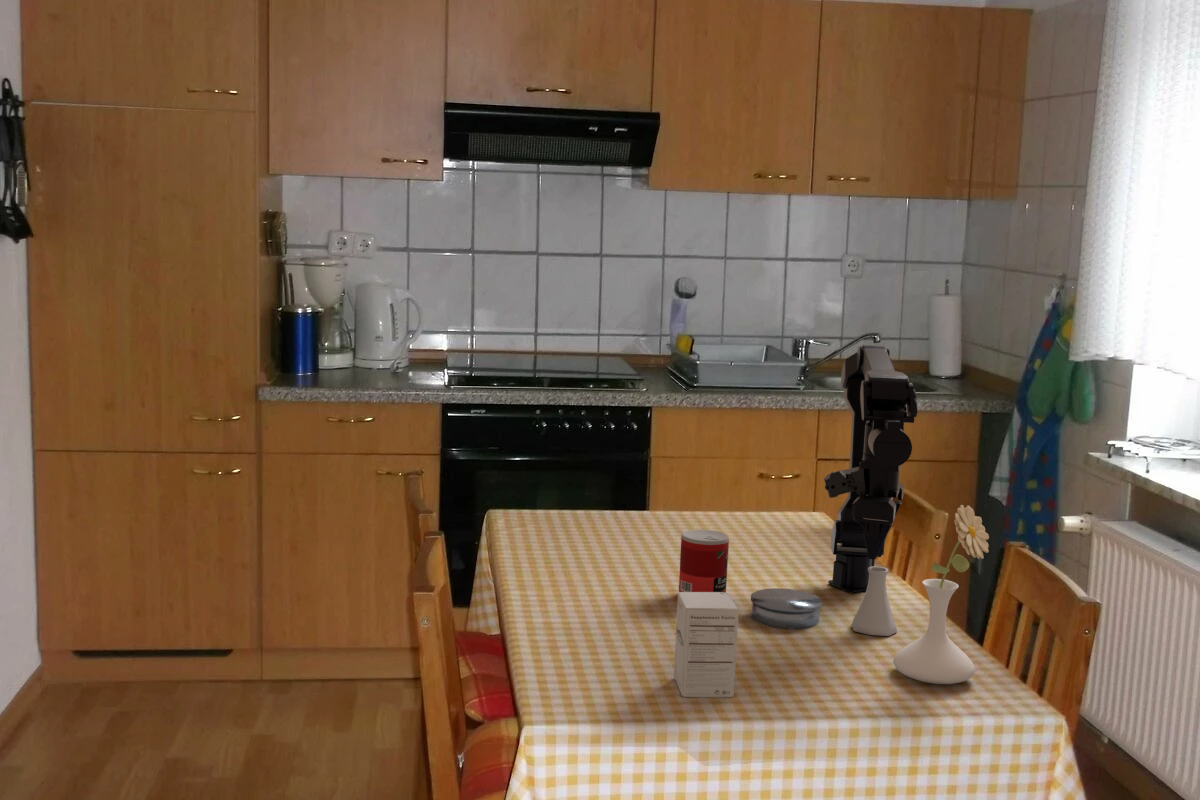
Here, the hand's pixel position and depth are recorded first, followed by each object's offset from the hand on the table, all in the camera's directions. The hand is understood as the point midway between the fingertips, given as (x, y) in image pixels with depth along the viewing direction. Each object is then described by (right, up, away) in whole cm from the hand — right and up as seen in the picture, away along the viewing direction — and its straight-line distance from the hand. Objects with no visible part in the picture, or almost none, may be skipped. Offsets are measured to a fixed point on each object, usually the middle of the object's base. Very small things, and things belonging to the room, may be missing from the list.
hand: (875, 552), depth 204 cm
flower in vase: (+5, -16, -18) cm, 25 cm away
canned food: (-26, -10, +15) cm, 32 cm away
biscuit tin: (-13, -12, +6) cm, 19 cm away
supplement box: (-29, -16, -26) cm, 42 cm away
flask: (0, -13, +2) cm, 13 cm away
